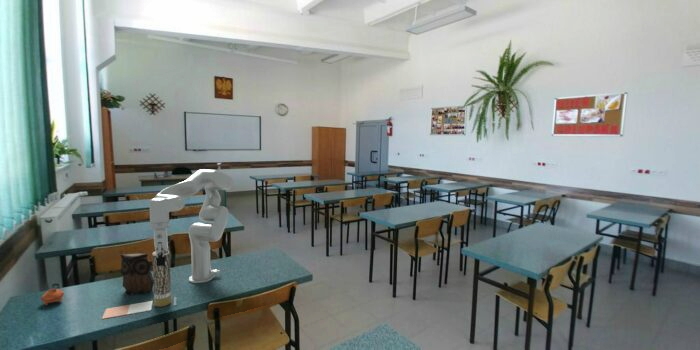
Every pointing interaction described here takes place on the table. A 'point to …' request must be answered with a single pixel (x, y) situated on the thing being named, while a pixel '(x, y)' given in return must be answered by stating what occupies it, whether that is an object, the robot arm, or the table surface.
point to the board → (129, 309)
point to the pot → (52, 296)
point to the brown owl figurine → (136, 274)
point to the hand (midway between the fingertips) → (161, 262)
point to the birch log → (162, 280)
